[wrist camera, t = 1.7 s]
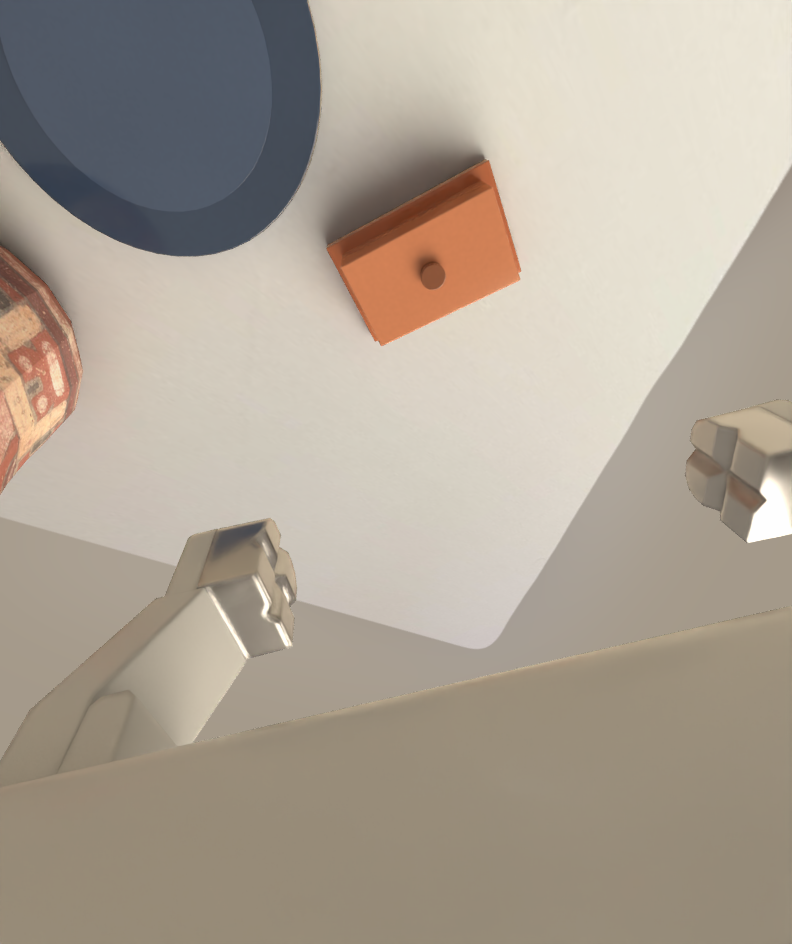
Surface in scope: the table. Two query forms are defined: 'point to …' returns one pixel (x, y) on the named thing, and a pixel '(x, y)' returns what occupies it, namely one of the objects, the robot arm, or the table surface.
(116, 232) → the plate
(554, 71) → the table surface
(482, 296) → the butter dish
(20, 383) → the pottery
